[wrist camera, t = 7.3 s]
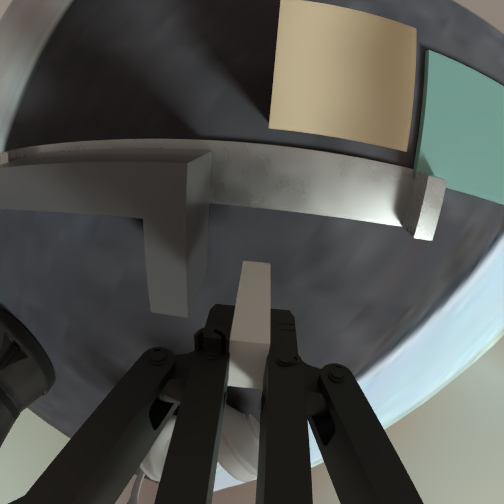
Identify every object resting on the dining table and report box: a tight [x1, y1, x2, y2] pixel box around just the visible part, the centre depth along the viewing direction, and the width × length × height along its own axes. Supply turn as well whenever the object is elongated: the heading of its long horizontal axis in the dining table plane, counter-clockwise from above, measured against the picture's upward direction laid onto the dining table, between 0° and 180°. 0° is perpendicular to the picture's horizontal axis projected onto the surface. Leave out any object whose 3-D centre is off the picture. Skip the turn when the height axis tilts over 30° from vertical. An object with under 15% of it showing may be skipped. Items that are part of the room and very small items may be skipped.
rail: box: [0, 139, 447, 241], centre depth 19 cm, size 35×4×2 cm, turn 85°
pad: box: [413, 50, 504, 205], centre depth 16 cm, size 12×10×1 cm
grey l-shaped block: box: [0, 149, 212, 318], centre depth 18 cm, size 16×9×6 cm, turn 85°
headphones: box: [127, 404, 260, 504], centre depth 23 cm, size 19×9×20 cm, turn 117°
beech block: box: [269, 0, 416, 152], centre depth 13 cm, size 5×5×10 cm
